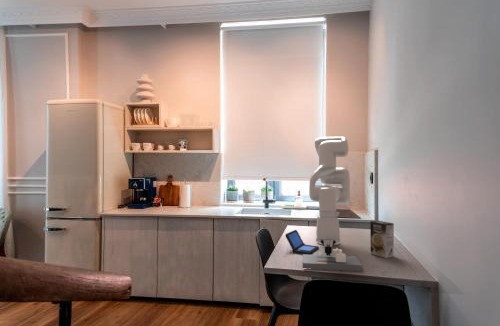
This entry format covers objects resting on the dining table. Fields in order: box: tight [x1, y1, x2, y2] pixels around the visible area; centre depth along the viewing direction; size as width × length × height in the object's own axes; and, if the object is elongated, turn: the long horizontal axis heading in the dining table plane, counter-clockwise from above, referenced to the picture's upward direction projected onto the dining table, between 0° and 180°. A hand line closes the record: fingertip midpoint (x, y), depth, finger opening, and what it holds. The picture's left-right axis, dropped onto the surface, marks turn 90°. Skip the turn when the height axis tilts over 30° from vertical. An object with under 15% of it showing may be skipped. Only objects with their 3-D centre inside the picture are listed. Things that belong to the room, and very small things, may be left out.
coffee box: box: [369, 220, 395, 259], centre depth 163 cm, size 9×6×16 cm
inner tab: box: [332, 247, 343, 258], centre depth 150 cm, size 3×4×4 cm
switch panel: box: [302, 254, 362, 272], centre depth 147 cm, size 14×24×3 cm, turn 81°
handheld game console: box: [285, 229, 320, 255], centre depth 173 cm, size 16×13×9 cm
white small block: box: [336, 252, 347, 262], centre depth 143 cm, size 3×4×4 cm
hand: (328, 254), depth 151 cm, fingers closed
